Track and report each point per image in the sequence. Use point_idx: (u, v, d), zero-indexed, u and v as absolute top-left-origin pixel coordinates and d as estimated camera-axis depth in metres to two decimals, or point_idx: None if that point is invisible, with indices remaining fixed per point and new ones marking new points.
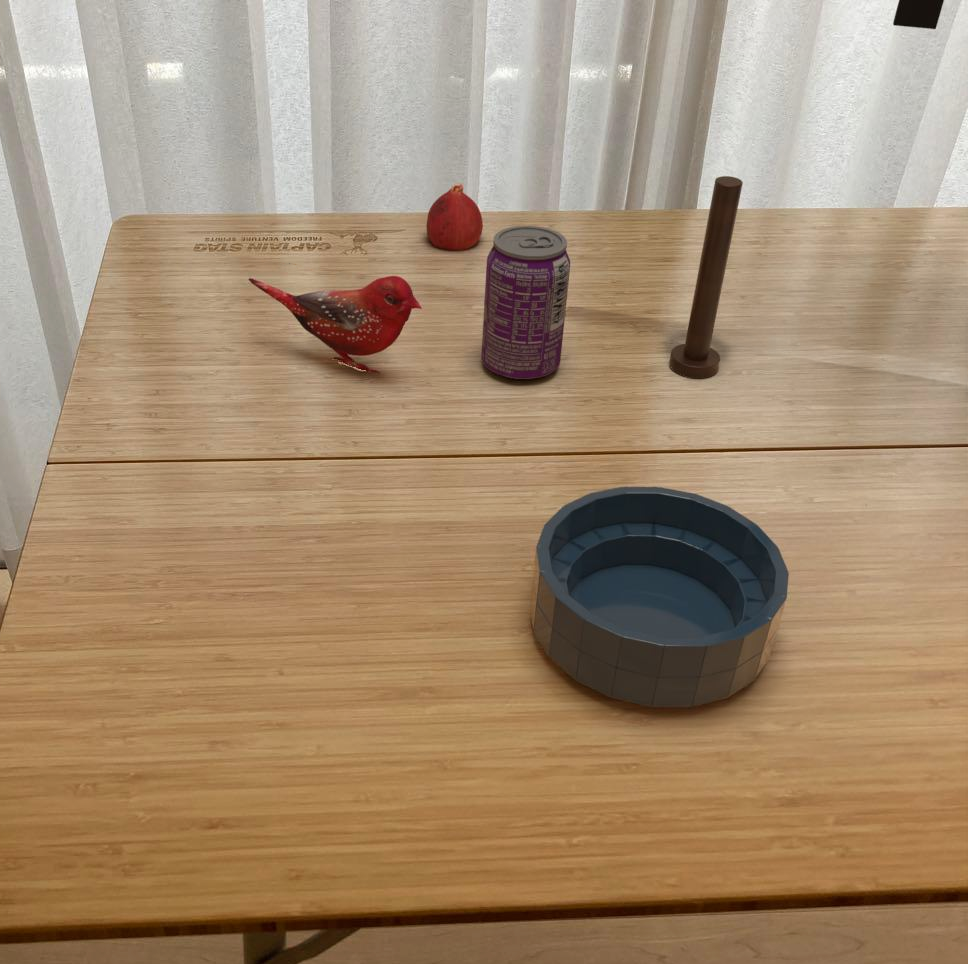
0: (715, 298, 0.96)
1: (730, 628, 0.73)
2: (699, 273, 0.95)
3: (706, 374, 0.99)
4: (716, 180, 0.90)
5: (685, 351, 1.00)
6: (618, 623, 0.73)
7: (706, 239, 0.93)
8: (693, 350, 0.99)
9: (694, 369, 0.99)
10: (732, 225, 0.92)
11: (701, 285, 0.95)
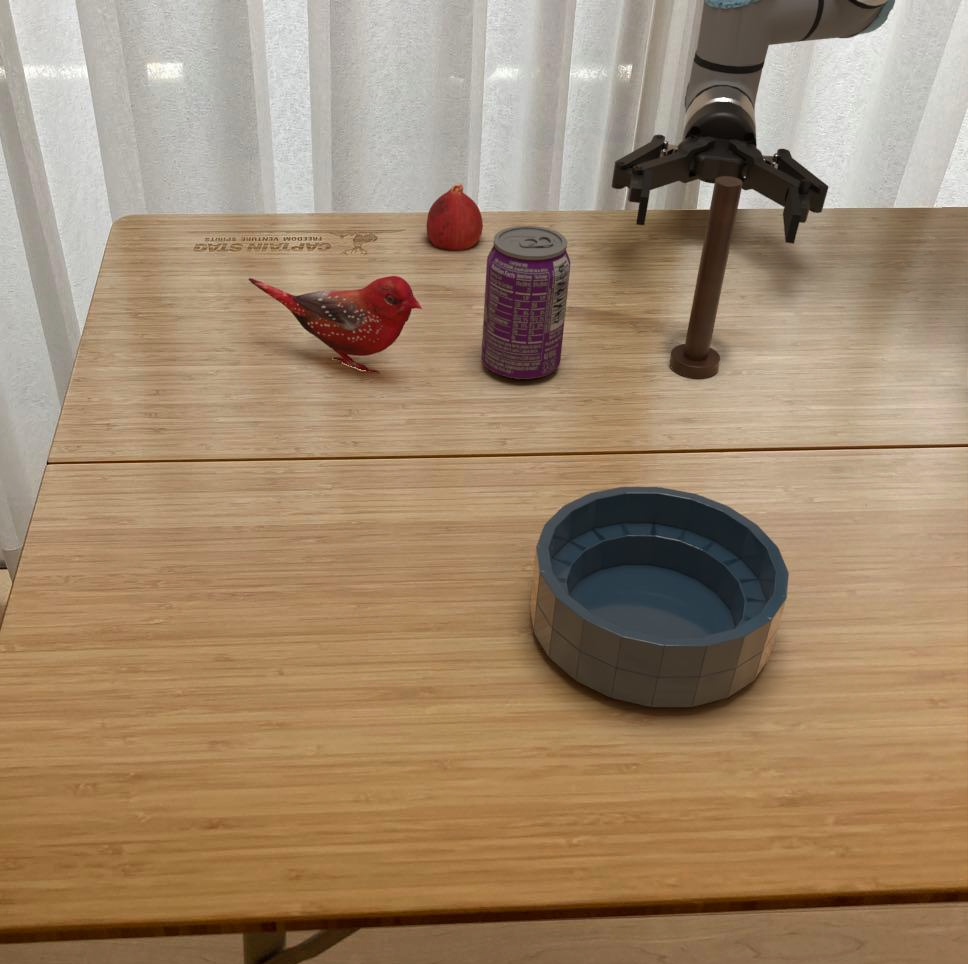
0: (715, 298, 0.96)
1: (730, 628, 0.73)
2: (699, 273, 0.95)
3: (706, 374, 0.99)
4: (716, 180, 0.90)
5: (685, 351, 1.00)
6: (618, 623, 0.73)
7: (706, 239, 0.93)
8: (693, 350, 0.99)
9: (694, 369, 0.99)
10: (732, 225, 0.92)
11: (701, 285, 0.95)
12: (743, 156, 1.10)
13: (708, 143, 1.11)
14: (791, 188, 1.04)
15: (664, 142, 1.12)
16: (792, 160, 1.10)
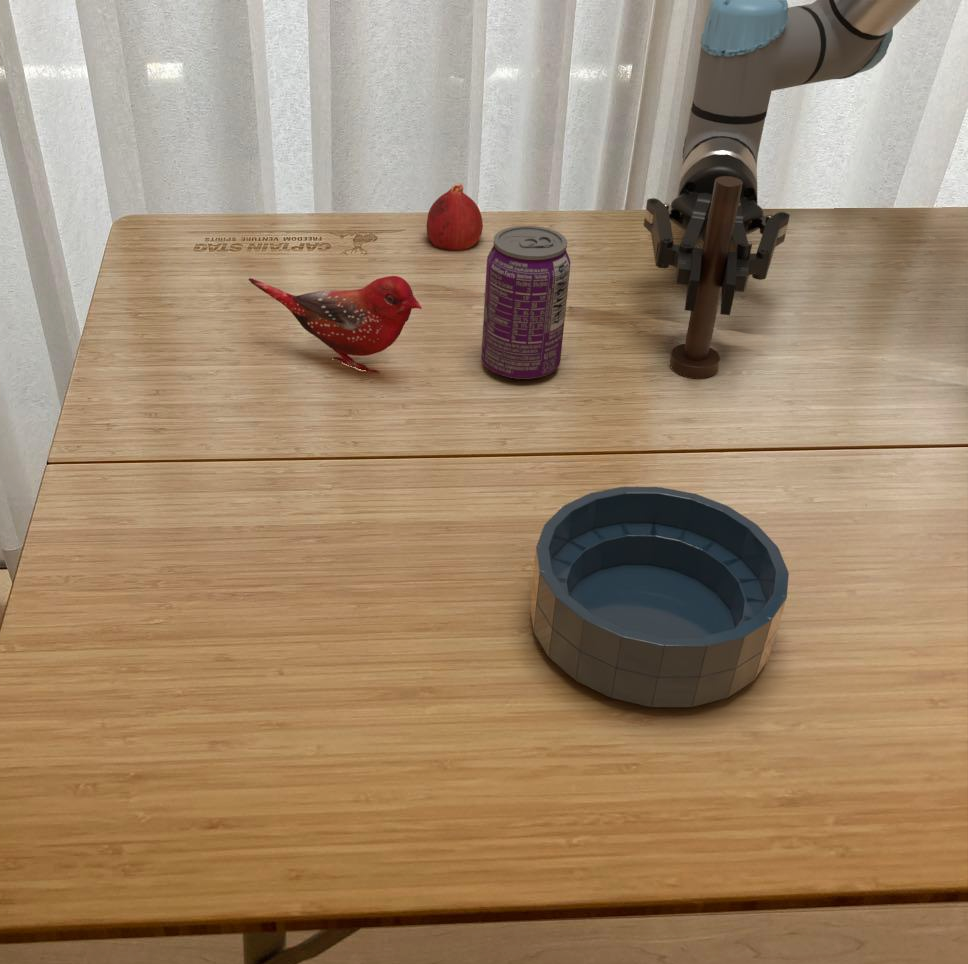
0: (715, 298, 0.96)
1: (730, 628, 0.73)
2: None
3: (706, 374, 0.99)
4: (716, 180, 0.90)
5: (685, 351, 1.00)
6: (618, 623, 0.73)
7: (706, 239, 0.93)
8: (693, 350, 0.99)
9: (694, 369, 0.99)
10: (732, 225, 0.92)
11: (701, 285, 0.95)
12: None
13: (704, 200, 1.02)
14: (729, 253, 0.94)
15: (665, 205, 1.03)
16: (776, 224, 1.00)
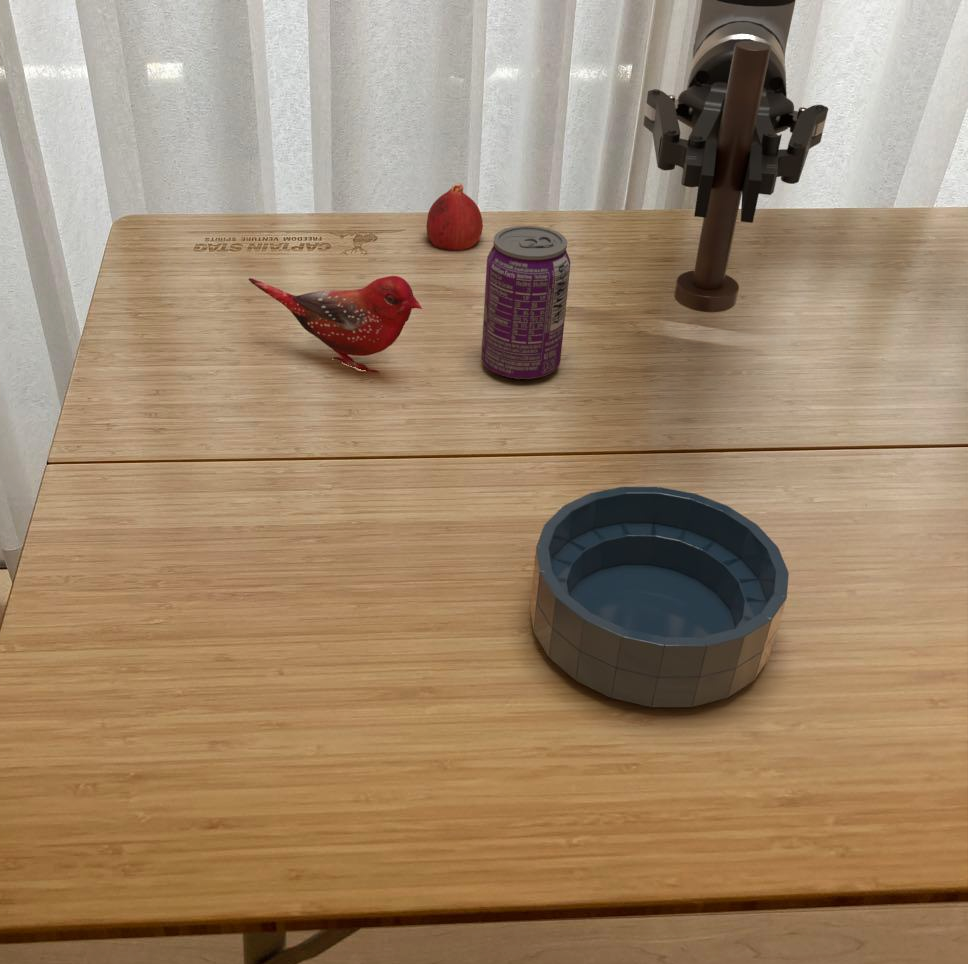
0: (733, 206, 0.74)
1: (730, 628, 0.73)
2: None
3: (721, 307, 0.78)
4: (736, 44, 0.69)
5: (694, 278, 0.78)
6: (618, 623, 0.73)
7: (722, 126, 0.72)
8: (705, 276, 0.78)
9: (706, 300, 0.77)
10: (756, 106, 0.71)
11: (716, 189, 0.74)
12: None
13: (719, 90, 0.81)
14: (752, 147, 0.73)
15: (671, 97, 0.81)
16: (812, 117, 0.79)
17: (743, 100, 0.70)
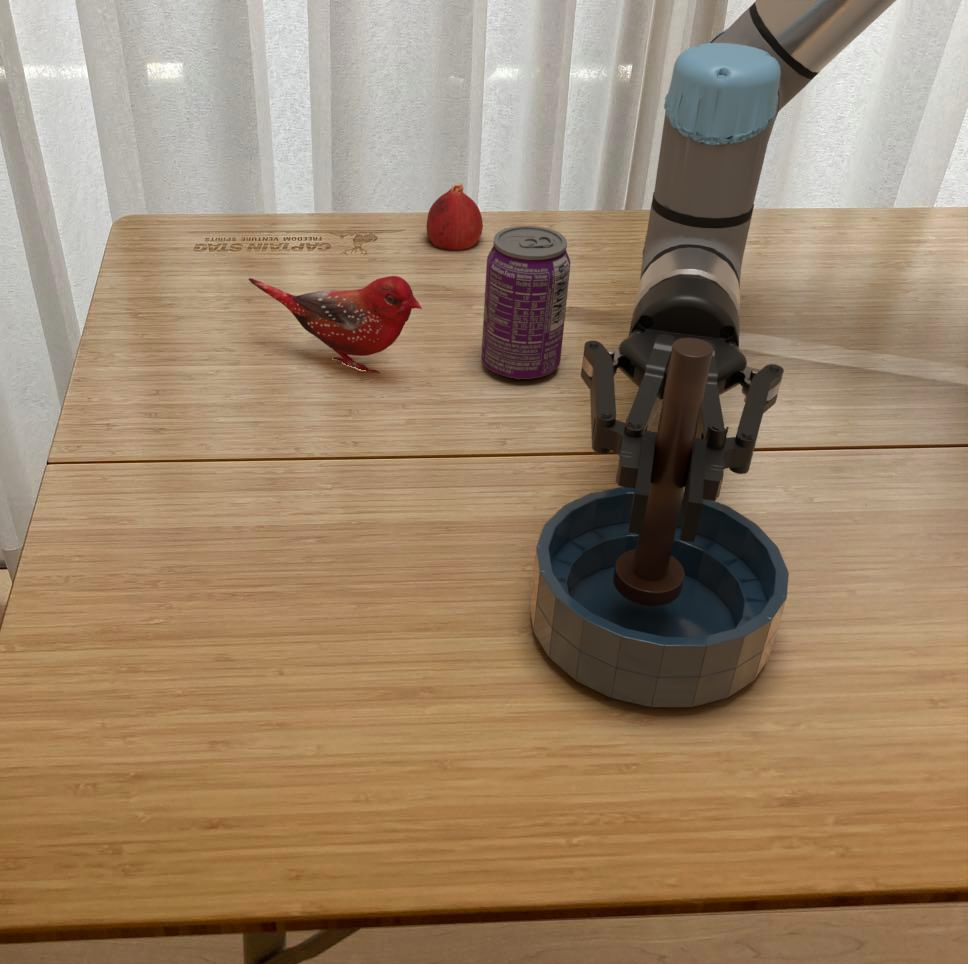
0: (675, 502, 0.66)
1: (730, 628, 0.73)
2: (652, 468, 0.66)
3: (664, 600, 0.70)
4: (674, 346, 0.61)
5: (635, 566, 0.70)
6: (618, 623, 0.73)
7: (661, 425, 0.64)
8: (646, 567, 0.69)
9: (647, 594, 0.69)
10: (698, 408, 0.62)
11: (655, 485, 0.66)
12: (716, 368, 0.72)
13: (663, 347, 0.73)
14: (695, 442, 0.65)
15: (610, 353, 0.73)
16: (765, 385, 0.70)
17: (683, 404, 0.62)
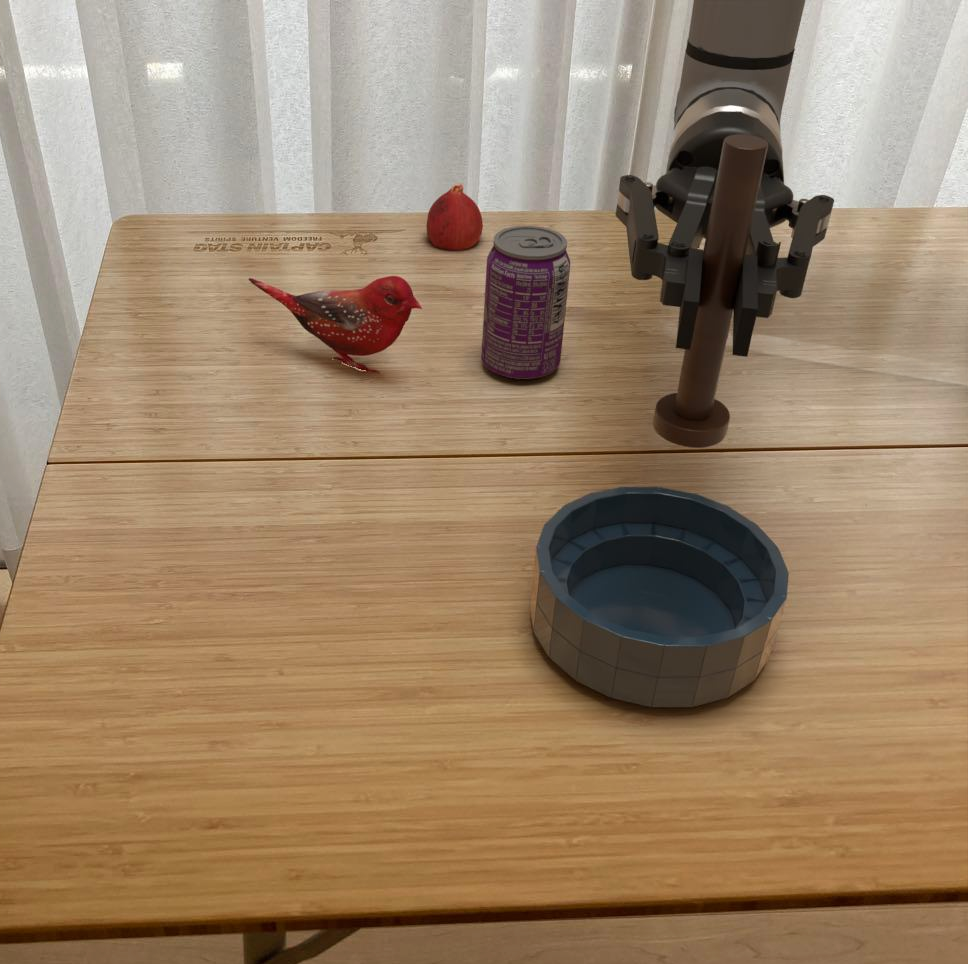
0: (723, 327, 0.62)
1: (730, 628, 0.73)
2: None
3: (709, 441, 0.65)
4: (726, 140, 0.56)
5: (677, 406, 0.66)
6: (618, 623, 0.73)
7: (709, 235, 0.59)
8: (689, 405, 0.65)
9: (691, 434, 0.65)
10: (751, 213, 0.58)
11: (702, 307, 0.61)
12: None
13: (705, 177, 0.68)
14: (745, 258, 0.60)
15: (648, 185, 0.69)
16: (815, 212, 0.66)
17: (734, 207, 0.57)
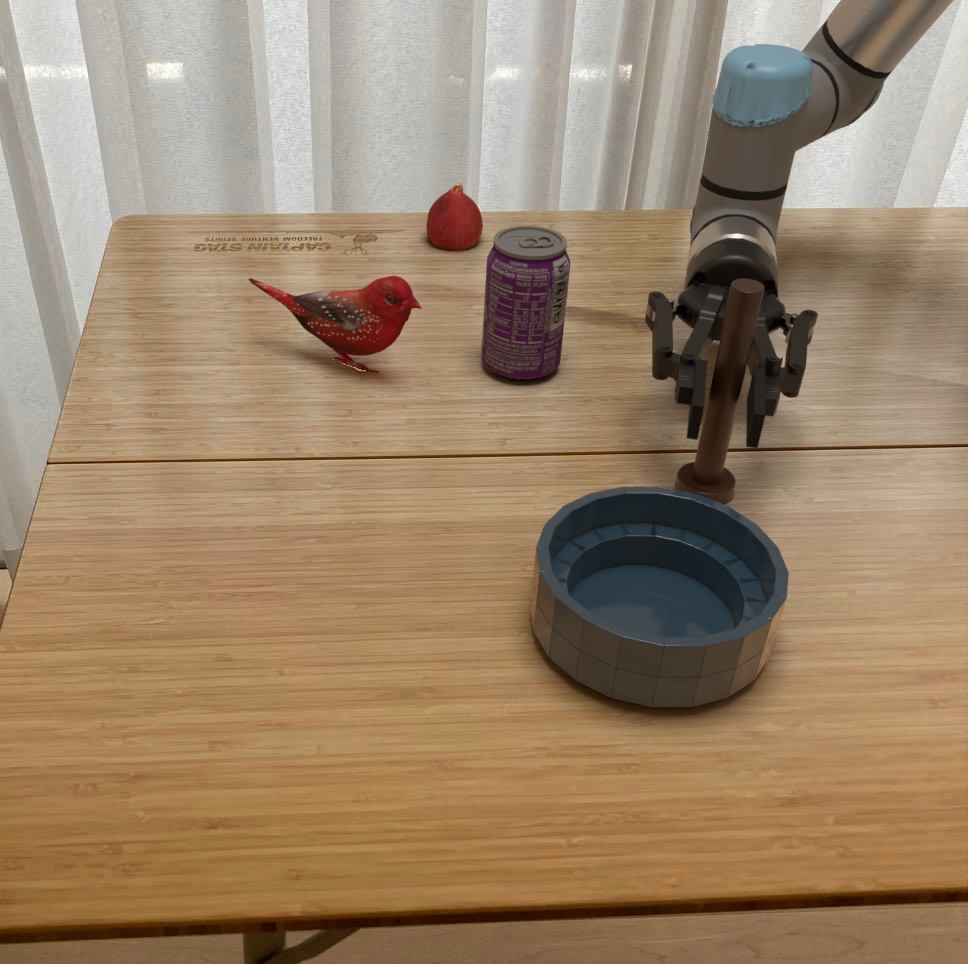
0: (730, 417, 0.81)
1: (730, 628, 0.73)
2: (711, 388, 0.80)
3: (719, 501, 0.84)
4: (732, 284, 0.75)
5: (694, 474, 0.85)
6: (618, 623, 0.73)
7: (720, 351, 0.78)
8: (704, 473, 0.84)
9: (705, 496, 0.84)
10: (751, 336, 0.77)
11: (714, 402, 0.80)
12: None
13: (716, 296, 0.87)
14: (756, 370, 0.80)
15: (670, 301, 0.88)
16: (804, 326, 0.85)
17: (739, 332, 0.76)
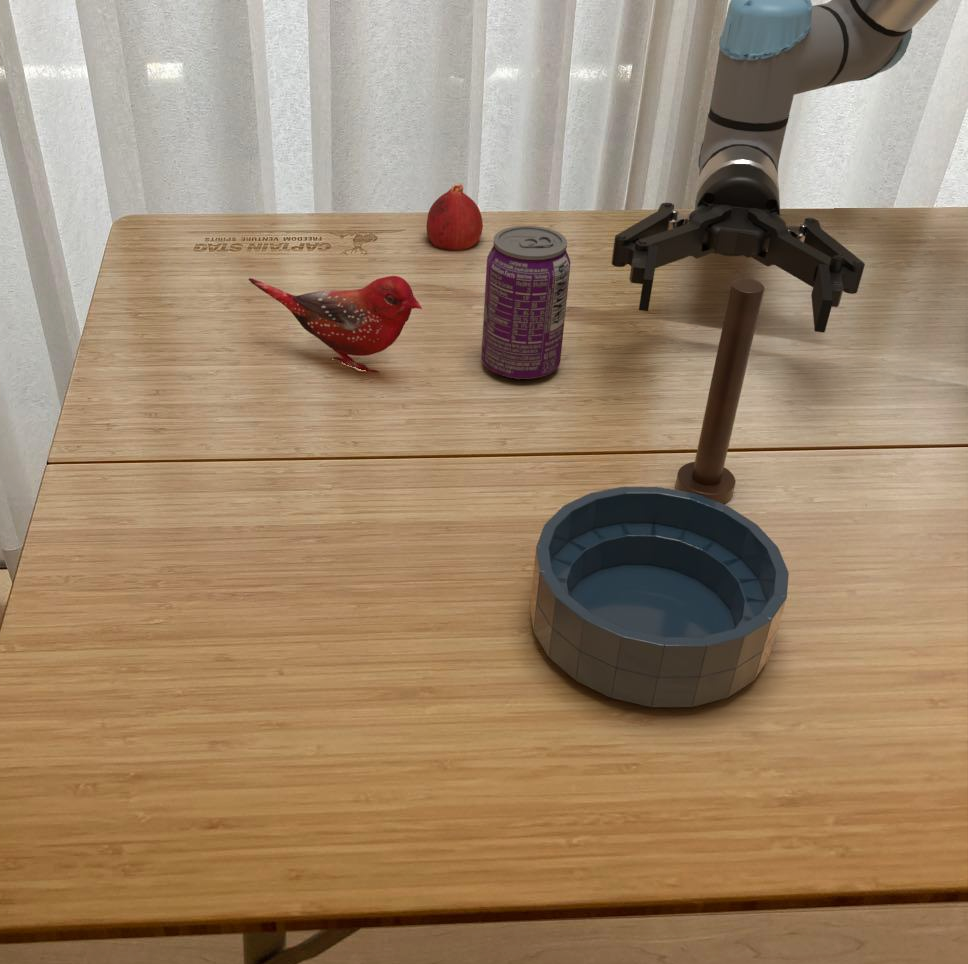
0: (730, 417, 0.81)
1: (730, 628, 0.73)
2: (711, 388, 0.80)
3: (719, 501, 0.84)
4: (732, 284, 0.75)
5: (694, 474, 0.85)
6: (618, 623, 0.73)
7: (720, 351, 0.78)
8: (704, 473, 0.84)
9: (705, 496, 0.84)
10: (751, 336, 0.77)
11: (714, 402, 0.80)
12: (764, 228, 0.95)
13: (724, 213, 0.96)
14: (821, 267, 0.89)
15: (673, 211, 0.98)
16: (822, 232, 0.95)
17: (739, 332, 0.76)
